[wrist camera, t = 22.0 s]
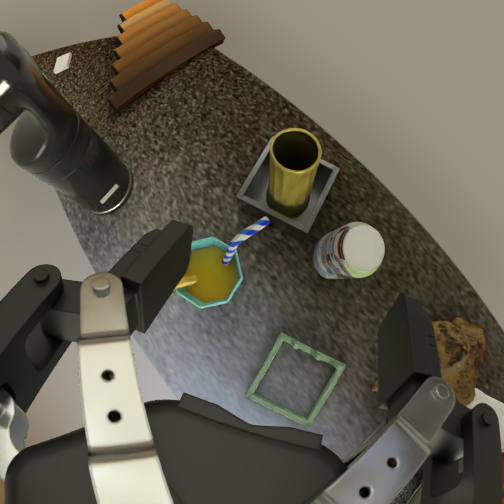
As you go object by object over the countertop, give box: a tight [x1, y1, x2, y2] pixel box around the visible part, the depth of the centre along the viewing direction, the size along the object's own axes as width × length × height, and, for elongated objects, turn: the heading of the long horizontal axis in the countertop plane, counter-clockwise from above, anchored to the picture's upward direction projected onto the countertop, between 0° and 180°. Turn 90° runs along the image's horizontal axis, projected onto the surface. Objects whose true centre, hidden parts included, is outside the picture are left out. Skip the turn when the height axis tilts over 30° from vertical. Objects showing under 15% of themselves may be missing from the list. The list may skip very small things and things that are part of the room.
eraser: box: [54, 52, 72, 74], centre depth 53 cm, size 1×5×4 cm
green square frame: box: [245, 332, 346, 427], centre depth 38 cm, size 10×10×6 cm
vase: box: [266, 128, 322, 217], centre depth 38 cm, size 6×6×14 cm
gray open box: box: [236, 136, 340, 243], centre depth 43 cm, size 10×10×6 cm
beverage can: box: [310, 222, 385, 279], centre depth 38 cm, size 6×7×12 cm
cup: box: [174, 216, 270, 309], centre depth 36 cm, size 14×8×15 cm, turn 126°
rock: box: [372, 316, 486, 406], centre depth 36 cm, size 19×9×15 cm
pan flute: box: [107, 0, 225, 113], centre depth 51 cm, size 25×3×25 cm
